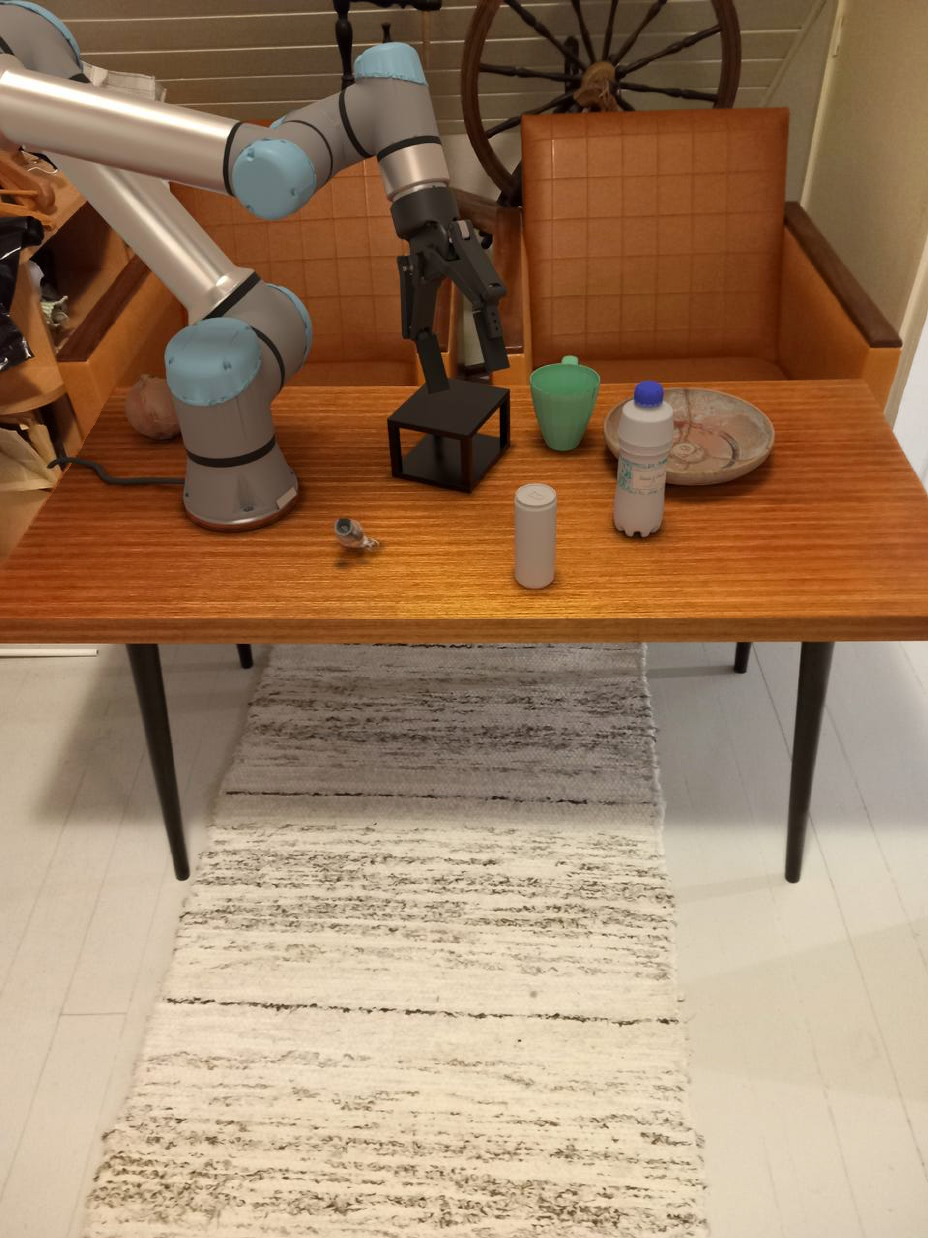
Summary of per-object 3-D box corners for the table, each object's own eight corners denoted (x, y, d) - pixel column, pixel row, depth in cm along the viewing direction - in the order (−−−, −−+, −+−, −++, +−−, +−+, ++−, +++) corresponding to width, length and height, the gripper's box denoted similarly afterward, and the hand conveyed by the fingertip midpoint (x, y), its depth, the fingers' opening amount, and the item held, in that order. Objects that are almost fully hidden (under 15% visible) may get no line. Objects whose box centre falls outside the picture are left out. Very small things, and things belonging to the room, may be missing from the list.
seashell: (361, 570, 121) (355, 530, 117) (322, 561, 123) (316, 521, 119) (381, 546, 125) (376, 506, 121) (343, 537, 126) (338, 498, 123)
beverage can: (530, 562, 121) (531, 478, 113) (562, 576, 119) (565, 491, 111) (506, 581, 118) (505, 496, 111) (539, 596, 116) (540, 510, 108)
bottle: (622, 546, 123) (634, 400, 110) (602, 517, 128) (612, 375, 115) (671, 536, 124) (690, 391, 111) (650, 508, 129) (665, 366, 116)
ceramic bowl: (566, 452, 141) (567, 421, 138) (682, 401, 151) (685, 371, 148) (686, 523, 126) (691, 490, 123) (805, 462, 137) (812, 430, 133)
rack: (391, 476, 137) (386, 418, 132) (436, 430, 147) (433, 374, 141) (470, 494, 133) (468, 435, 127) (510, 445, 143) (510, 388, 137)
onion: (153, 443, 153) (127, 380, 150) (209, 425, 151) (183, 361, 149) (130, 453, 144) (102, 386, 141) (188, 434, 143) (161, 366, 140)
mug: (594, 461, 139) (598, 396, 132) (525, 457, 140) (525, 393, 134) (600, 411, 150) (604, 349, 143) (536, 408, 151) (537, 347, 145)
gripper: (506, 150, 103) (554, 353, 107) (399, 226, 124) (442, 393, 128) (446, 156, 99) (498, 366, 103) (347, 233, 121) (393, 405, 125)
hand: (467, 381), depth 116 cm, fingers open, 13 cm apart
